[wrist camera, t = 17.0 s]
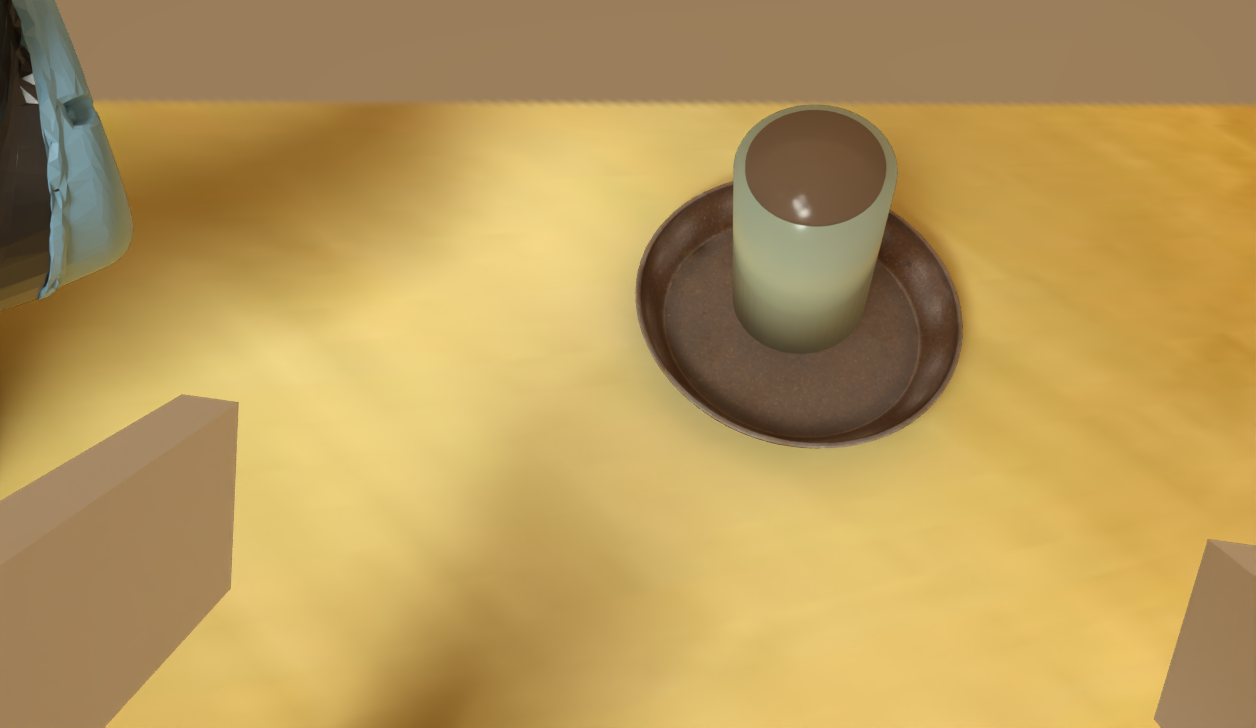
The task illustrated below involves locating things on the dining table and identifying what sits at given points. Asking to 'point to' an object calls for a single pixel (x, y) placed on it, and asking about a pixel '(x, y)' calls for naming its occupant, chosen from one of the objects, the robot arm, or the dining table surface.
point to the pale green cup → (808, 225)
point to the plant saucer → (797, 383)
